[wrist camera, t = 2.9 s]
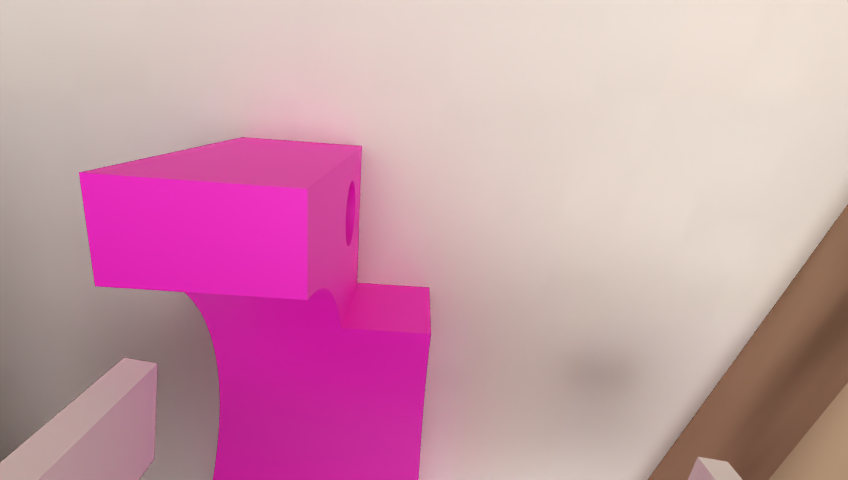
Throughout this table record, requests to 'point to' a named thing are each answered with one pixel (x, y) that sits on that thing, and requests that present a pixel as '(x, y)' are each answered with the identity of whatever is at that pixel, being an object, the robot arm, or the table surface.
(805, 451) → the walnut base block
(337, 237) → the toy block
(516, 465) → the table surface
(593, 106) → the table surface
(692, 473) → the robot arm
